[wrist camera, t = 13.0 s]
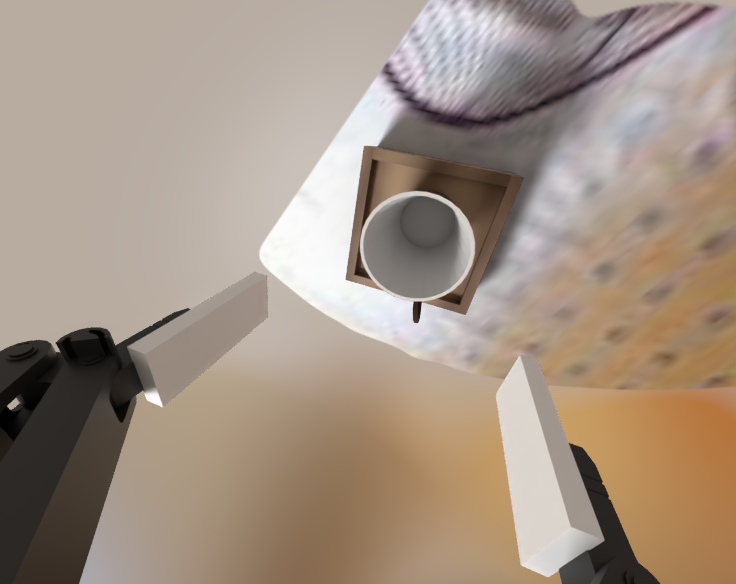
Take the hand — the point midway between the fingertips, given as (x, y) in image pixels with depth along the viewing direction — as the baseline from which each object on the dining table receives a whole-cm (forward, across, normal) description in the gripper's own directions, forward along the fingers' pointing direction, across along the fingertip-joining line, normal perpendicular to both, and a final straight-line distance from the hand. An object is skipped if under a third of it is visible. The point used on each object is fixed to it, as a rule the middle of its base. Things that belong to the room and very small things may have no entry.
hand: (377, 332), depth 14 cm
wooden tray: (+23, 0, 0) cm, 23 cm away
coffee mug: (+19, 0, 0) cm, 19 cm away
